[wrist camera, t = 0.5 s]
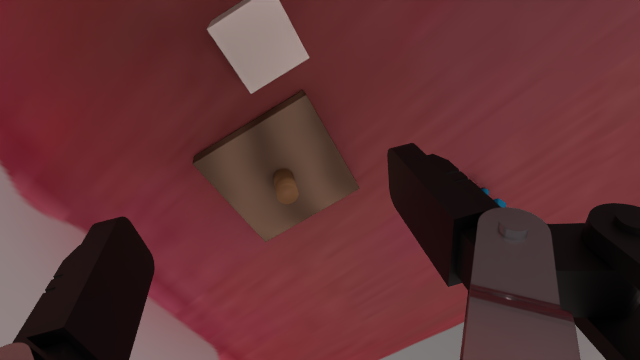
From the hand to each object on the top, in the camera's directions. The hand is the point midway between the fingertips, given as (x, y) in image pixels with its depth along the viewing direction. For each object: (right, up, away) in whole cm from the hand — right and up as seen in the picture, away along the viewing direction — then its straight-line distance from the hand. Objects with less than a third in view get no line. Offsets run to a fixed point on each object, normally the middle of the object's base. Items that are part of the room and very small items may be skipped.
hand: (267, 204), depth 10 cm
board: (-2, +2, +23) cm, 24 cm away
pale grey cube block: (-4, +13, +16) cm, 21 cm away
